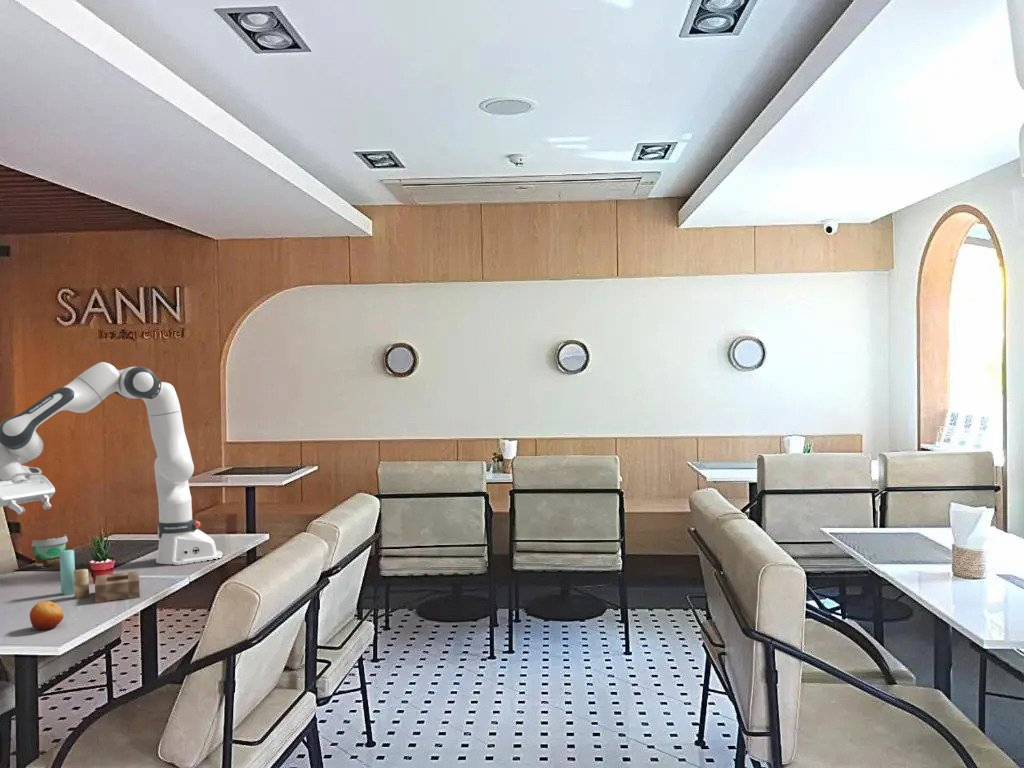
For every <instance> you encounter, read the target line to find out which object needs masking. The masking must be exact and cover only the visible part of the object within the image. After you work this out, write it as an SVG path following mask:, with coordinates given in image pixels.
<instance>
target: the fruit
mask: <svg viewBox="0 0 1024 768" xmlns="http://www.w3.org/2000/svg"><path fill="white" fill-rule="evenodd" d="M63 619H64V612H63V609H62V608H61V606H60V605H59V604H57V603H55V602H53V601H50V600H48V601H43V600H42V601H39V602H37V603H36V604H35V605H34V606H33V607H32V608H31V610H30V611H29V620H30V623H31V627H32V628H31V629H32V630H34V629H38V630H48V629H49V630H52V629H54V628H55V627H57V625H59V624H60V623H61V622H63ZM51 628H52V629H51Z"/></svg>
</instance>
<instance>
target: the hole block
mask: <svg viewBox="0 0 1024 768" xmlns="http://www.w3.org/2000/svg"><path fill="white" fill-rule="evenodd" d="M94 582H95V583H94V598H95V604H96V603H104V601H105V602H111V601H110V600H113V601H118V600H117V599H122V600H124V599H123V598H130V599H135V597H138V598H140V597H141V595H140V594H141V593H140V572H139V570H137V571H130V572H129V571H128V572H127V571H126V572H120V573H119V572H118V573H111V574H102V575H101V574H100V575H96V577H95V581H94ZM133 597H134V598H133Z"/></svg>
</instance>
